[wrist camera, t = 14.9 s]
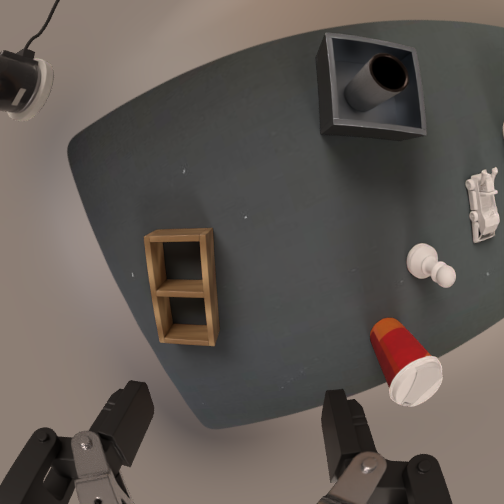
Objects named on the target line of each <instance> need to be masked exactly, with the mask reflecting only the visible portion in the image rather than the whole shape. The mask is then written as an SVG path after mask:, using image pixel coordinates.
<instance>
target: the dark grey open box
mask: <svg viewBox="0 0 504 504" xmlns="http://www.w3.org/2000/svg"><path fill="white" fill-rule="evenodd" d="M379 53H387V54H390V55H393V56H395V57H396V58H398V59H399V60H400V61H401V62H402V63H403V64H404V66H405V67H406V69H407V71H408V75H409V83H408V86H407V87H406V88H405V89H404V90H403V91H401V92H400V93H398V94H396V95H395V96H393V97H391V98H390V99H388V100H386V101H384V102H383V103H381V104H379V105H378V106H376V107H374V108H373V109H371V110H369V111H358V110H356V109H354V108H353V107H351V106H350V105H349V104H348V102H347V100H346V98H345V88H346V86H347V85H348V83H349V82H350V81H351V80H352V79H353V78H354V77H355V75H356V74H357V73H358V72H359V71H360V70H361V69H362V68H363V67H364V66H365V64H366V63H367V62H368V61H369V60H370V59H371V58H372V57H373V56H374V55H376V54H379ZM316 68H317V81H318V96H319V113H320V134H321V135H338V136H353V137H366V138H376V139H386V140H395V141H402V140H407V139H411V138H416V137H421V136H426V135H427V130H426V129H427V128H426V115H425V105H424V96H423V88H422V81H421V74H420V68H419V63H418V57H417V52H416V48H412V47H408V46H404V45H400V44H396V43H391V42H387V41H382V40H376V39H371V38H365V37H359V36H352V35H344V34H335V33H325V35H324V37H323V40H322V42H321V45H320V47H319V50H318V52H317V55H316Z"/></svg>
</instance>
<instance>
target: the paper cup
mask: <svg viewBox="0 0 504 504" xmlns="http://www.w3.org/2000/svg"><path fill="white" fill-rule="evenodd" d="M370 341H371V344H372V346H373V349H374V351H375V354H376V356H377V359H378V361H379V364H380V366H381V369H382V371H383V373H384V376H385V378H386V381H387V383H388V386H389V395H390V398H391V399H392V400H393V401H394V402H396V403H397V404H399V405H400V404H401V405H402V406H411V407H413V406H416V405H419V404H421V403H423V402H425V401H426V400H428V399H429V398H430V397H431V396H432V395H433V394H434V393H435V392H436V391H437V389H438V388H439V386H440V385H441V382H442V379H443V376H442V365H441V363H440V361H439V360H438V358H437V357H434V356H431V355H430V354H429V353H428V352H427V350H426V349H425V348H424V347H423V346H422V345H421V344H420V343H419V342H418V341H417V340H416V339H415V337H414V336H413V335H412V334H411V333H410V332H409V331H408V330H407V329H406V328H405V327H404V326H403V325H402V324H401V323H400V322H399V321H398V320H396V319H394V318H385V319H382V320H380V321H379V322H377V323H376V324H375V325H374V327H373V328H372V330H371V333H370Z"/></svg>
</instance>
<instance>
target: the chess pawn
mask: <svg viewBox="0 0 504 504" xmlns="http://www.w3.org/2000/svg"><path fill="white" fill-rule="evenodd" d="M406 262H407V268H408V270H409V272H410V273H411V274H412V275H414V276H415V277H417V278H420V279H423V278H427V277H428V276H431V278H432V280H433V281H434V282H437V283H438V284H439V285H440V286H441V287H445V288H447V287H450V286H451V285H452V284H453V283H454V281H455V279H456V273H455V271H454V269H453V268H452V267H451V266H448V265H446V263H444V262H438V256H437V253H436V251H435V249H434V248H433V247H431V246H429V245H427V244H424V243H421V244H417V245H415V246H414V247H413V248H412V249H411V250H410V251H409V253H408V256H407V260H406Z"/></svg>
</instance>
